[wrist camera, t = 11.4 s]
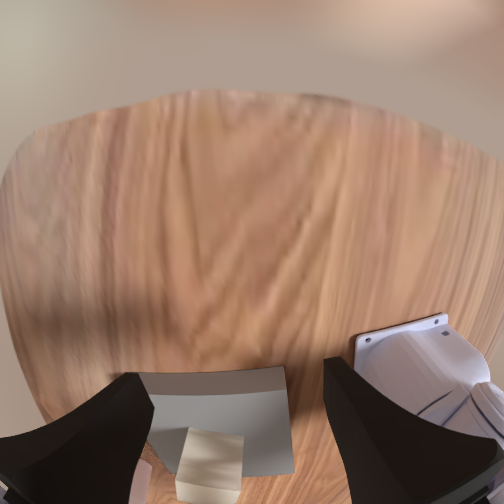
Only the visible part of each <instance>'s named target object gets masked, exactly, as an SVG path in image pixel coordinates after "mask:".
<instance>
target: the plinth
mask: <svg viewBox="0 0 504 504" xmlns="http://www.w3.org/2000/svg"><path fill="white" fill-rule="evenodd" d="M131 373H136V372H131ZM139 376H140V378H141V380H142V382H143V384H144V387H145V389H146V391H147V393H148V395H149V397H150V399H151V401H152V403H153V405H154V407H155V410H154V415H153V420H152V424H151V428H150V431H149V434H148V437H147V441H148V442H149V444H150V445H151V447H152V448H153V450H154V451H155V453H156V454H157V456H158V457H159V458H160V460H161V461H162V462H163V464H164V465H165V467H166V468H167V469H168V471H169V472H170V473H172V474H177V471H178V467H179V463H180V459H181V456H182V452H183V448H184V444H185V441H186V437H187V433H188V429H189V427H191V428H196V429H201V430H207V431H212V432H218V433H225V434H232V435H240V436H244V445H243V461H242V477H258V476H273V475H284V474H293V473H295V472H294V460H293V449H292V438H291V428H290V417H289V407H288V398H287V388H286V380H285V372H284V366H278V367H270V368H261V369H250V370H239V371H225V372H206V373H139Z"/></svg>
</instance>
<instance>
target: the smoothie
mask: <svg viewBox="0 0 504 504" xmlns="http://www.w3.org/2000/svg"><path fill="white" fill-rule="evenodd" d="M151 472H152V466H151V465H150V464H149V463H147V462H146V461H144V460H142V459H139V461H138V464H137V466H136V470H135V473H134V476H133V481H132V486H131V491H130V498H129V504H147V498H148V491H149V485H150V478H151Z"/></svg>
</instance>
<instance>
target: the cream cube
mask: <svg viewBox="0 0 504 504" xmlns="http://www.w3.org/2000/svg"><path fill="white" fill-rule="evenodd" d="M243 445H244V436H240V435H232V434H225V433H218V432H212V431H207V430H201V429H196V428H191V427H189V429H188V433H187V437H186V441H185V444H184V448H183V452H182V456H181V459H180V463H179V467H178V471H177V475H176V479H175V484H176V492H177V498H178V500H179V501H184V502H189V503H194V504H236V502H237V499H238V497H239V494H240V492H241V477H242V461H243Z"/></svg>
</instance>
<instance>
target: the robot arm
mask: <svg viewBox="0 0 504 504" xmlns="http://www.w3.org/2000/svg"><path fill="white" fill-rule="evenodd" d="M435 320H436V321H435ZM447 322H448V315H447V314H446V313H441V314H438V315H435V316H431V317H428V318H425V319H421V320H418V321H414V322H410V323H407V324H403V325H399V326H395V327H391V328H387V329H383V330H379V331H375V332H370V333H366V334H361V335H359V336H358V337H357V338H356V341H355V359H354V369H353V368H352V367H351V366H350V365H349V364H348V363H347V362H346V361H345V360H344V359H343V358H342V357H340V356H338V357H333V358H328V359H324V396H323V397H324V402H325V407H326V412H327V416H328V420H329V423H330V426H331V429H332V432H333V434H334V437H335V440H336V443H337V446H338V449H339V451H340V454H341V457H342V460H343V463H344V466H345V470H346V474H347V479H348V484H349V489H350V494H351V500H352V504H504V392H503V391H502V390H500V389H499V388H498V387H497V386H495V385H494V384H492V383H491V382H490V373H489V368H488V365H487V363H486V361H485V359H484V357H483V356H482V354H481V353H480V352H479V351H478V350H477V349H476V348H474V347H473V346H472V345H471V344H470V343H469V342H468V341H467V340H466V339H464V338H463V337H462V336H461V335H460V334H459V333H458V332H456V331H455V330H454V329H453V328H452V327H451V326H449V325H448V324H447ZM367 338H369V339H368V340H367V341H365V340H366V339H367ZM154 410H155V407H154V405H153V403H152V401H151V399H150V397H149V395H148V393H147V391H146V389H145V387H144V384H143V382H142V380H141V378H140V376H139V373H125V374H123V375H121V376H120V377H119V378H117V379H116V380H114V381H113V382H112V383H110V384H109V385H108V386H106V387H105V388H104V389H103V390H101V391H100V392H99V393H97V394H96V395H95V396H93V397H92V398H91V399H89V400H88V401H86V402H85V403H83V404H82V405H80V406H79V407H78V408H76V409H75V410H73V411H72V412H70V413H68V414H67V415H65V416H63V417H61V418H60V419H58V420H56V421H54V422H52V423H50V424H47V425H45V426H43V427H40V428H38V429H35V430H33V431H30V432H26V433H23V434H19V435H15V436H11V437H4V438H0V480H1V481H2V482H3V483H4V484H5V485H6V486H7V487H8V490H7V491H6V490H4V489H3V488H2V487H1V486H0V504H129V498H130V491H131V486H132V481H133V476H134V473H135V470H136V466H137V464H138V461H139V458H140V456H141V453H142V450H143V448H144V445H145V442H146V440H147V437H148V434H149V431H150V428H151V424H152V420H153V415H154Z"/></svg>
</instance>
